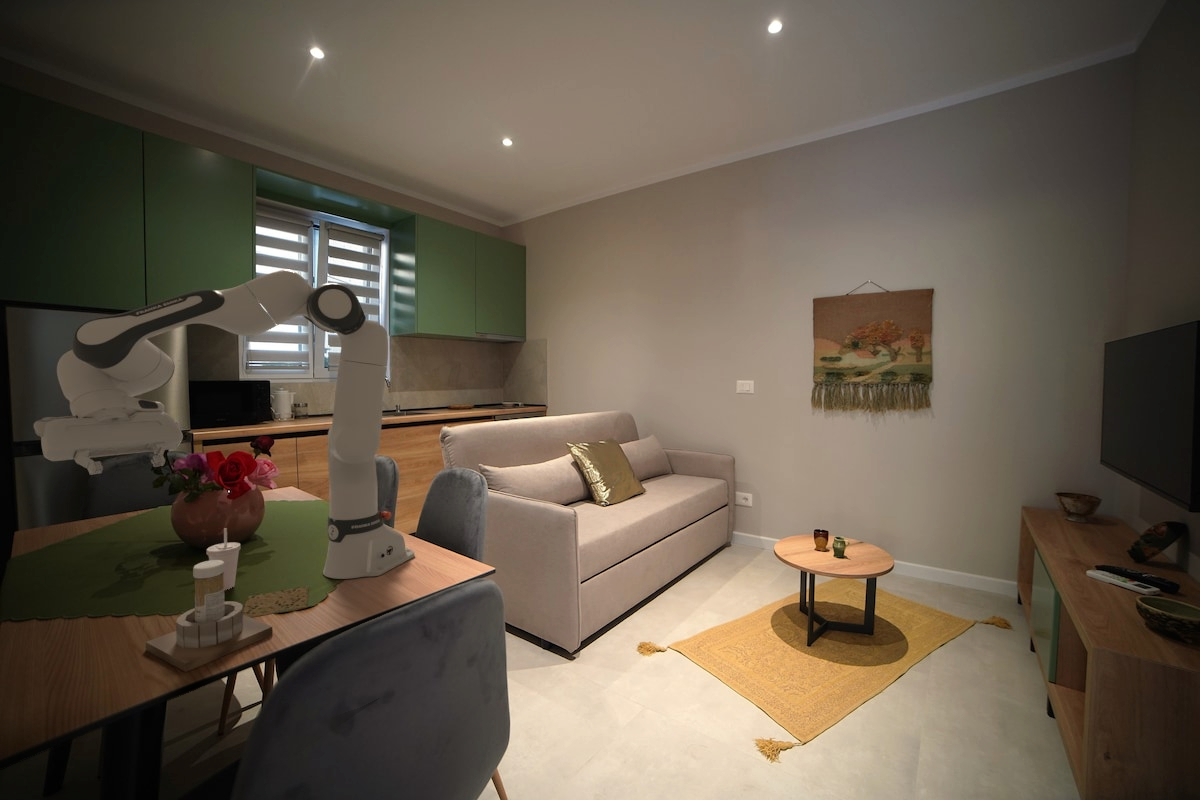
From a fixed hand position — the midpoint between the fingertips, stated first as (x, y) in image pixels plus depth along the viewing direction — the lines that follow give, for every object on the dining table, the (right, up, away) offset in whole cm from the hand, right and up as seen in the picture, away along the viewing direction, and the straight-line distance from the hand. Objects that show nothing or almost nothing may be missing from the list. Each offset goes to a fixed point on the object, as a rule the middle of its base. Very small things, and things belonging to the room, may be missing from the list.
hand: (129, 468), depth 97 cm
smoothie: (+4, -31, +20) cm, 37 cm away
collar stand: (+19, -32, -4) cm, 37 cm away
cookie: (+20, -32, +13) cm, 40 cm away
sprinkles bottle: (+19, -31, -4) cm, 36 cm away
